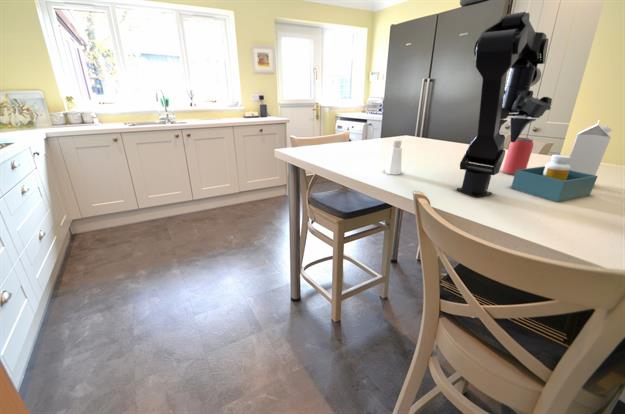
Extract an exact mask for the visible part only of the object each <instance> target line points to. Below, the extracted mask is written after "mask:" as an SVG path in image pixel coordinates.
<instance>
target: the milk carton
mask: <svg viewBox="0 0 625 414" xmlns="http://www.w3.org/2000/svg"><path fill="white" fill-rule="evenodd" d="M600 122H601V119H598V120H597V123H596V124H594V125H591V126H590V127H587V128H585V129H583V130H581V131H579V132H578V133H577V134H576V137H575V139H574V143H573V146H572V148H571V151H570V153H569V155H568V156H569V157H571V159H570V161H569V163H568V165H570V167H571V168H570V170H571V171H576V172H581V173H586V174H590V175H595V176H597V172H598V170H599V168H600V165H601V162H602V160H603V158H604V155H605V152H606V151H607V148H608V146H609V143H610V141H611V139H612V136H611V135H610V134H609V133H610V132H612V131H613V129H612V128H611V127H610V126H609V125H608V124H605V125H604V126H601V125H600Z"/></svg>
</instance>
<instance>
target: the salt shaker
mask: <svg viewBox="0 0 625 414" xmlns="http://www.w3.org/2000/svg"><path fill="white" fill-rule="evenodd" d="M401 146H402V140H401V139H393V140H392V146H391V147H390V149H389V155H388V159H387V163H386V167H385V171H384V172H385V174H388V175H393V176H397V175H401V173H402V159H403V158H402V156H403V155H402V153H403V148H402V147H401Z"/></svg>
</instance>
